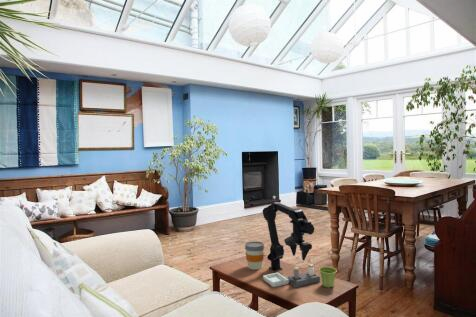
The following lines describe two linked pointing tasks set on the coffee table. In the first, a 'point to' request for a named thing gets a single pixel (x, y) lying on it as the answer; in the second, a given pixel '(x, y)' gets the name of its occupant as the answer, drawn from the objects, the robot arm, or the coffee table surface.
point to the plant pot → (328, 276)
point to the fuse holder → (303, 280)
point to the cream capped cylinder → (296, 273)
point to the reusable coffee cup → (254, 254)
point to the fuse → (310, 270)
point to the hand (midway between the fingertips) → (298, 257)
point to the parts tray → (275, 279)
